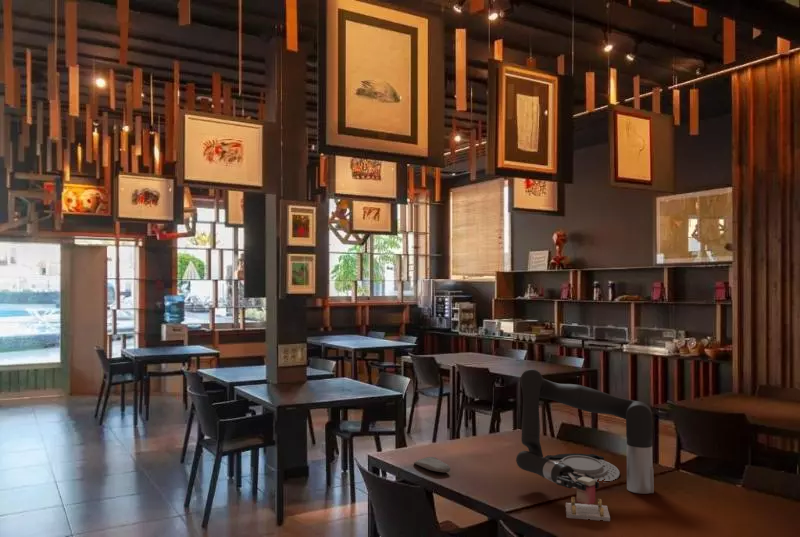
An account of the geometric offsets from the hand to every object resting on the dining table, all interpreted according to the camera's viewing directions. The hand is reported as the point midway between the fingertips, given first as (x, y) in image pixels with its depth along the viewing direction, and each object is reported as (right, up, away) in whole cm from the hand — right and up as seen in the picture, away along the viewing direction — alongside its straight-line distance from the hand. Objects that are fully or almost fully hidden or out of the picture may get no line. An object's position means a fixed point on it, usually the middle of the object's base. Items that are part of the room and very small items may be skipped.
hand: (591, 486), depth 220 cm
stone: (-47, -10, +57) cm, 75 cm away
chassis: (-1, -10, +2) cm, 10 cm away
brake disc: (+11, -12, +53) cm, 55 cm away
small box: (-1, -6, +2) cm, 7 cm away
